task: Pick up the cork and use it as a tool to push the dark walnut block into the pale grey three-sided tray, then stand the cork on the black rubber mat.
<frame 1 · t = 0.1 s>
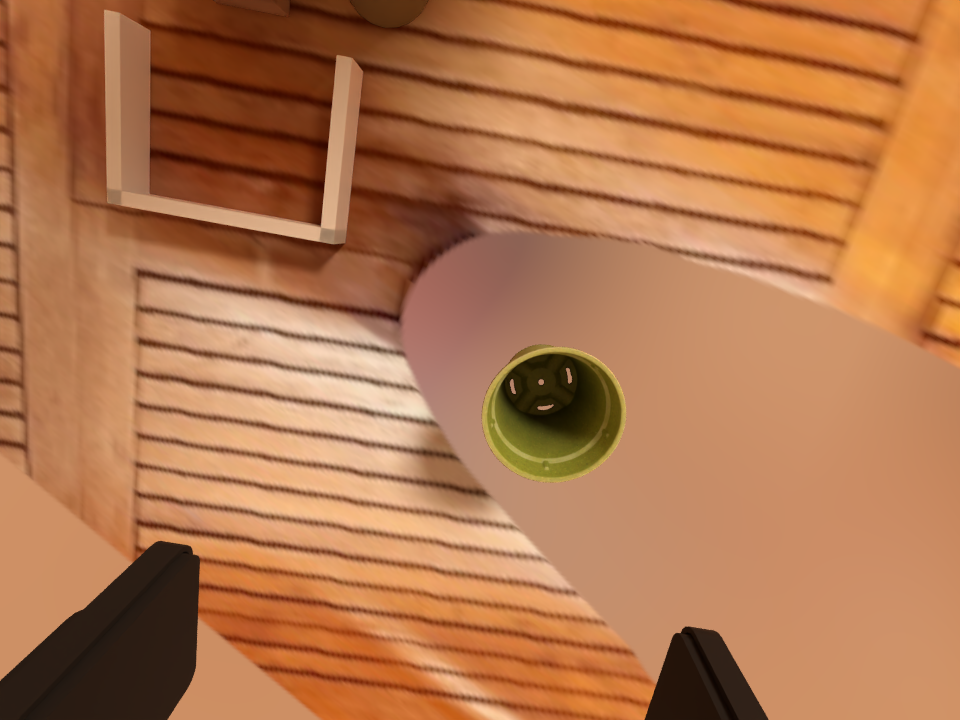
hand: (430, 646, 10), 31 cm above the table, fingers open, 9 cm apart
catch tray: (246, 133, 36), on the table
plant pot: (540, 378, 41), on the table
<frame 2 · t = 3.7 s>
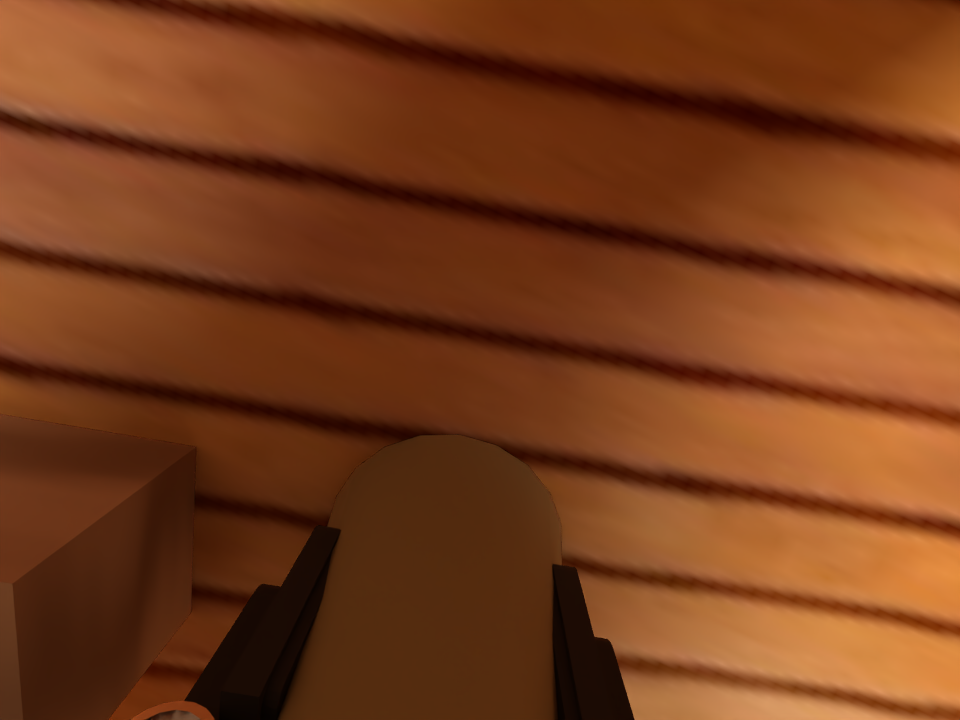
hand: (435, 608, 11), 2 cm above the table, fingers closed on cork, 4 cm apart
cork: (445, 537, 13), on the table, touching gripper
walnut block: (99, 516, 13), on the table
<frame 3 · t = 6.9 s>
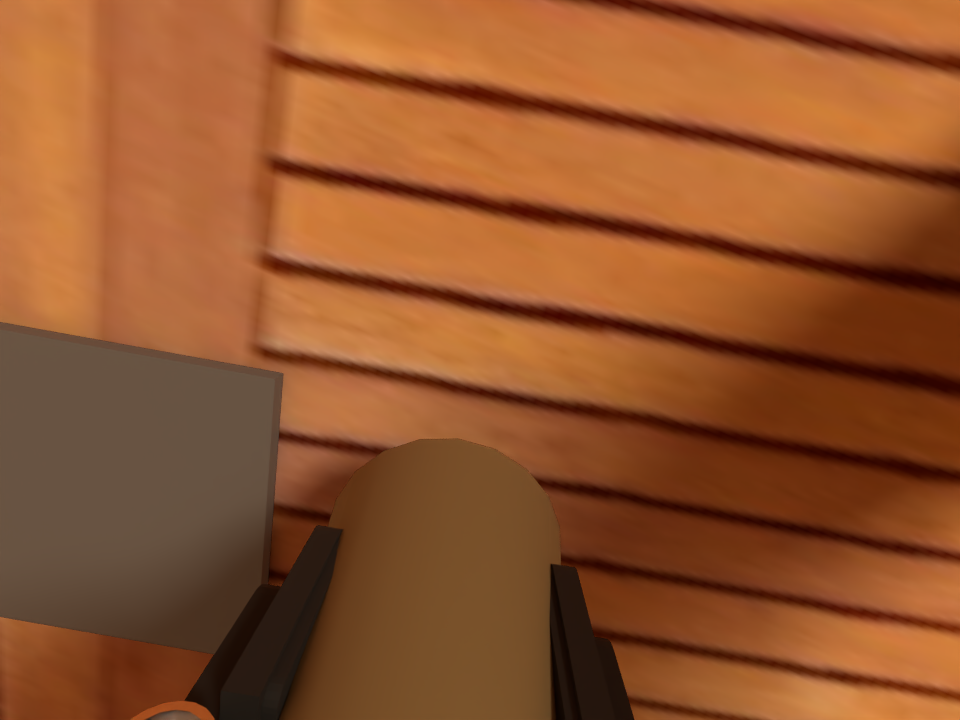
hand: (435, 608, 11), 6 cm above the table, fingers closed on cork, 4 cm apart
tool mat: (115, 494, 17), on the table
cork: (445, 540, 13), point 4 cm above the table, touching gripper
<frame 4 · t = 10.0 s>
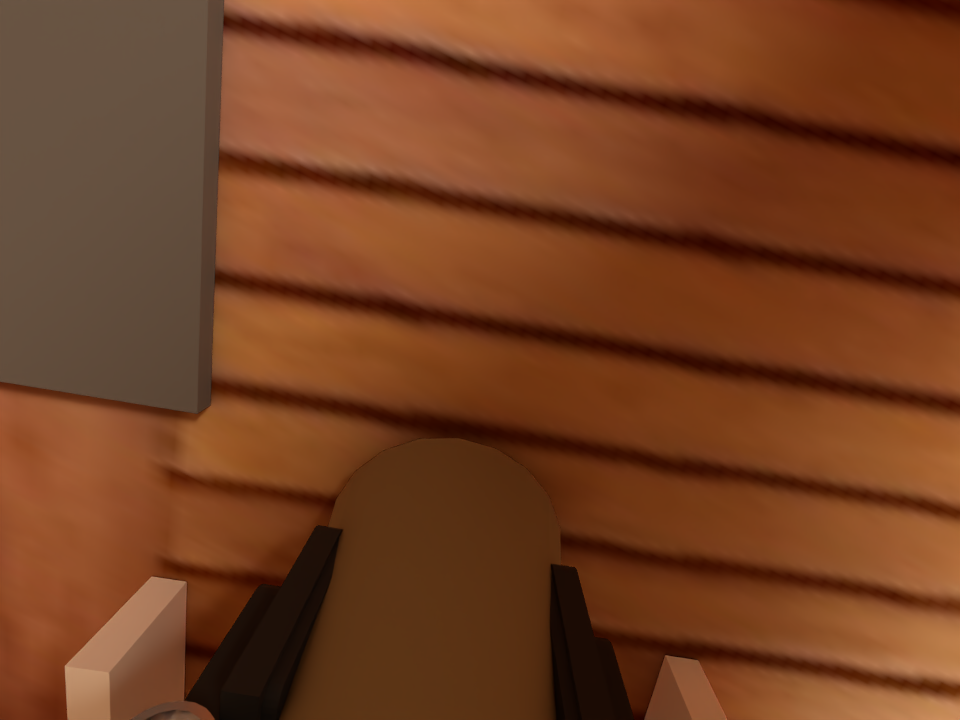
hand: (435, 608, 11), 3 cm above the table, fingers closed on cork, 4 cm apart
cork: (445, 540, 13), point 1 cm above the table, touching gripper, walnut block
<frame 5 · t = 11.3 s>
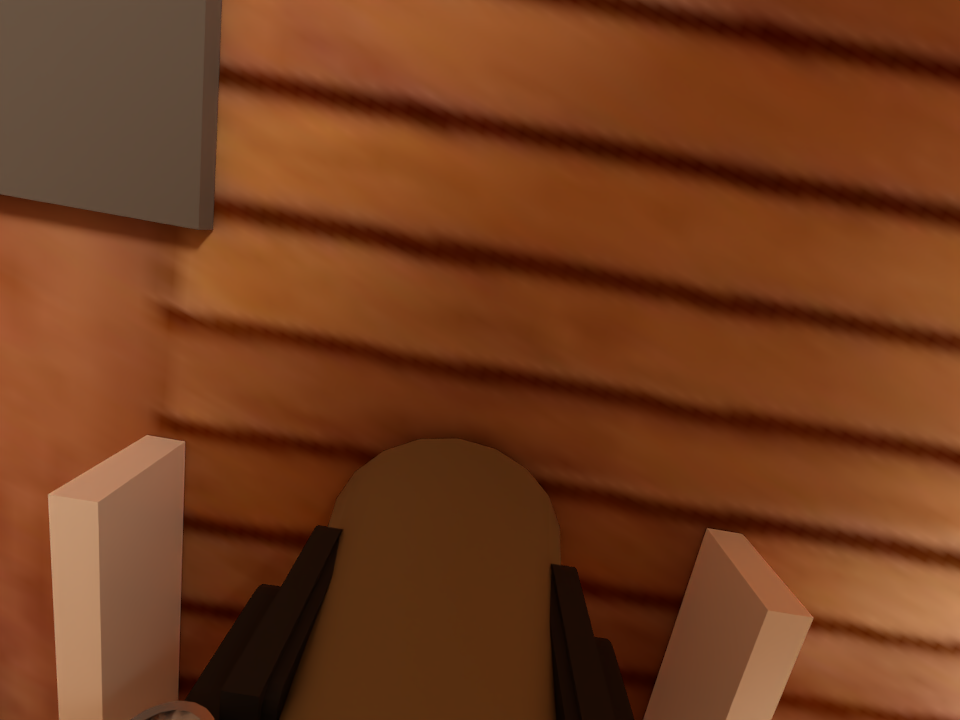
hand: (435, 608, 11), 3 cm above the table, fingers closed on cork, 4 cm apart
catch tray: (420, 652, 15), on the table
cork: (445, 540, 13), on the table, touching gripper
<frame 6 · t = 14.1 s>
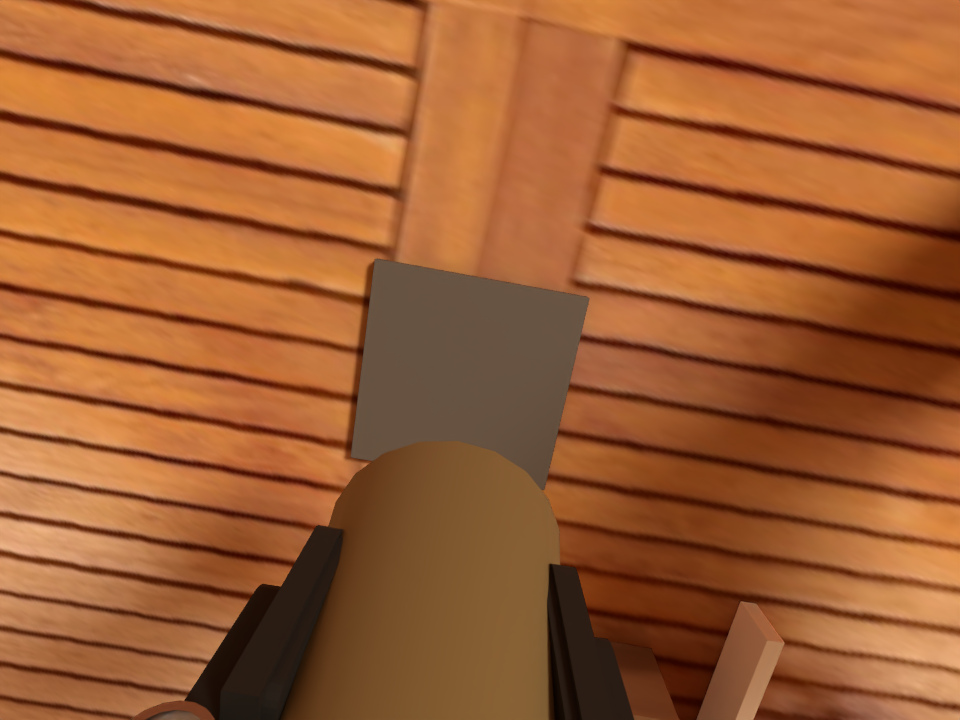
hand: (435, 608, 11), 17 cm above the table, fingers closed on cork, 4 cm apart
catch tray: (607, 655, 32), on the table
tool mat: (465, 378, 27), on the table
cork: (444, 542, 13), point 14 cm above the table, touching gripper
walnut block: (602, 671, 32), on the table
when the fingers open (4 cm above the table, at t = 16.7 s): cork drops 1 cm, resting on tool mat.
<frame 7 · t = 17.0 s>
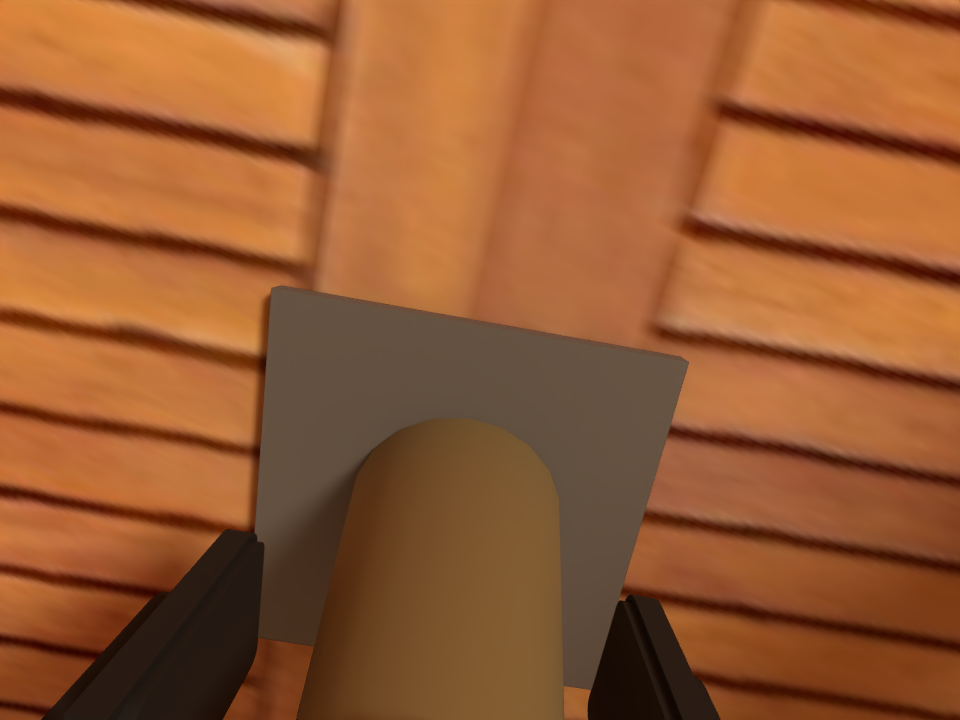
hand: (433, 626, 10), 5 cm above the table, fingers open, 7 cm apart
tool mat: (450, 499, 15), on the table
cork: (455, 511, 14), resting on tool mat
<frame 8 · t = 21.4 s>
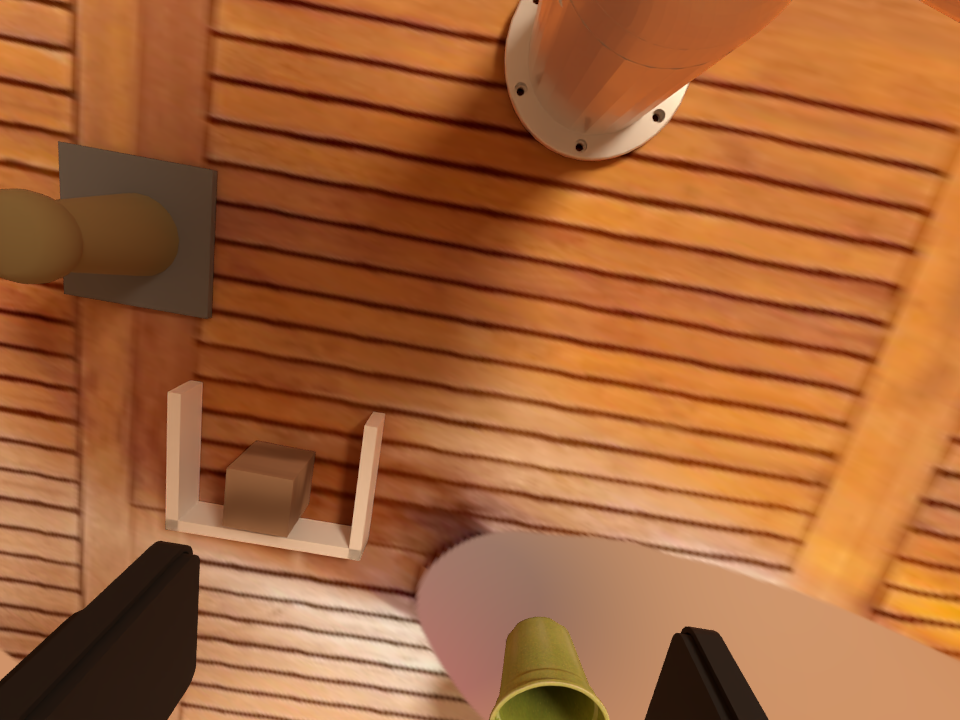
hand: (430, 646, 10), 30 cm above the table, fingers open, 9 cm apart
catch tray: (283, 457, 42), on the table
plant pot: (538, 640, 47), on the table
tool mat: (141, 233, 37), on the table
cork: (140, 235, 37), resting on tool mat
walnut block: (283, 472, 42), on the table
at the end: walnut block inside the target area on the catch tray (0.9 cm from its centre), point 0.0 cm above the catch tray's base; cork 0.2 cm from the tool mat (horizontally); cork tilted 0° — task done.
